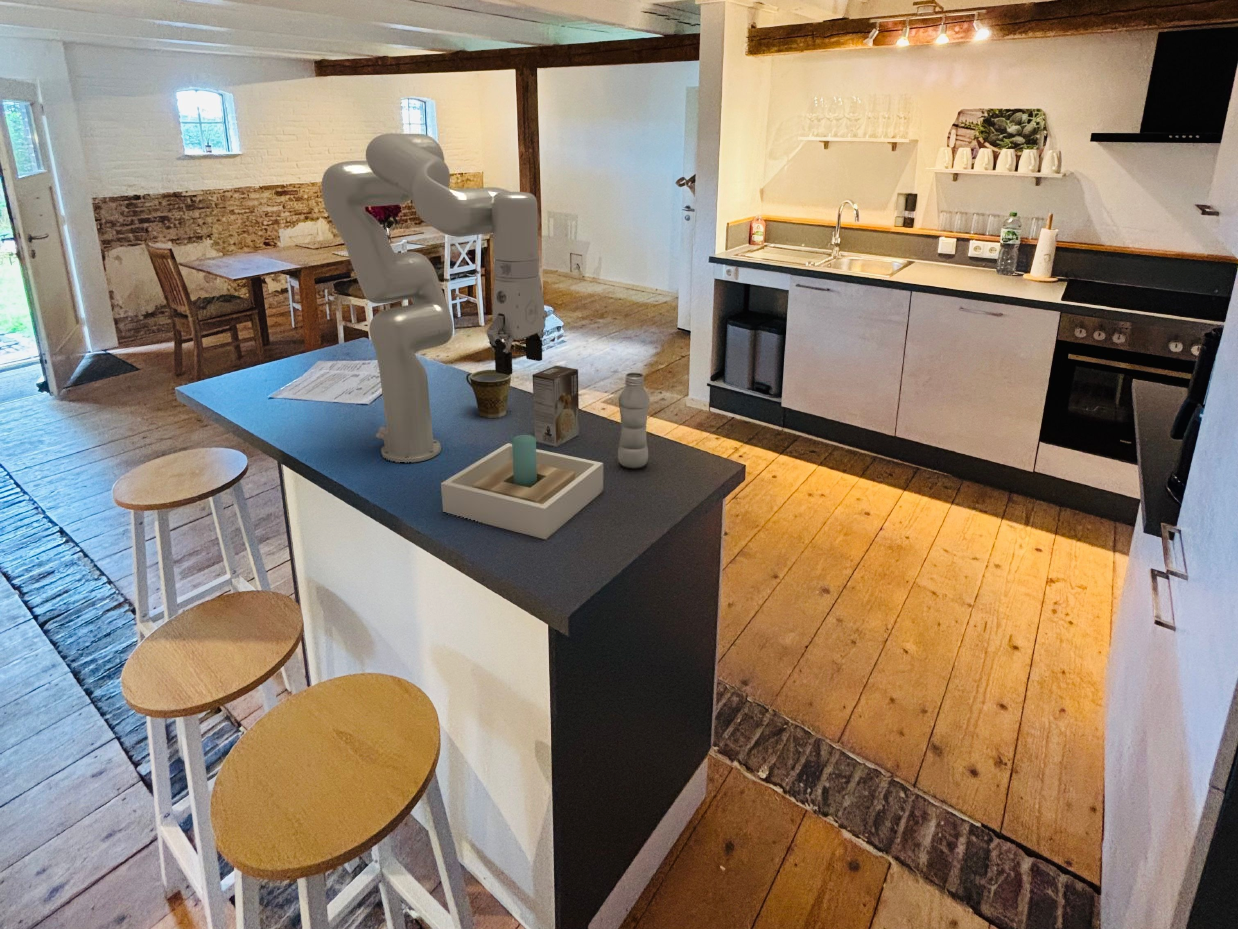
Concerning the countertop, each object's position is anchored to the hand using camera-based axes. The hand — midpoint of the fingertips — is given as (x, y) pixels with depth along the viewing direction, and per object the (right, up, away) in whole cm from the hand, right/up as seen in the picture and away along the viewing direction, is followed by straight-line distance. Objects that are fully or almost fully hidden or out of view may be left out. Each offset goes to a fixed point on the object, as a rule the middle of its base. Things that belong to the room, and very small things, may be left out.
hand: (519, 366), depth 136 cm
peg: (0, -24, +9) cm, 26 cm away
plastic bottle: (+21, -18, +26) cm, 38 cm away
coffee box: (+4, -12, +40) cm, 41 cm away
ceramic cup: (-15, -5, +55) cm, 57 cm away
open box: (0, -25, +9) cm, 26 cm away
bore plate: (0, -25, +9) cm, 26 cm away
